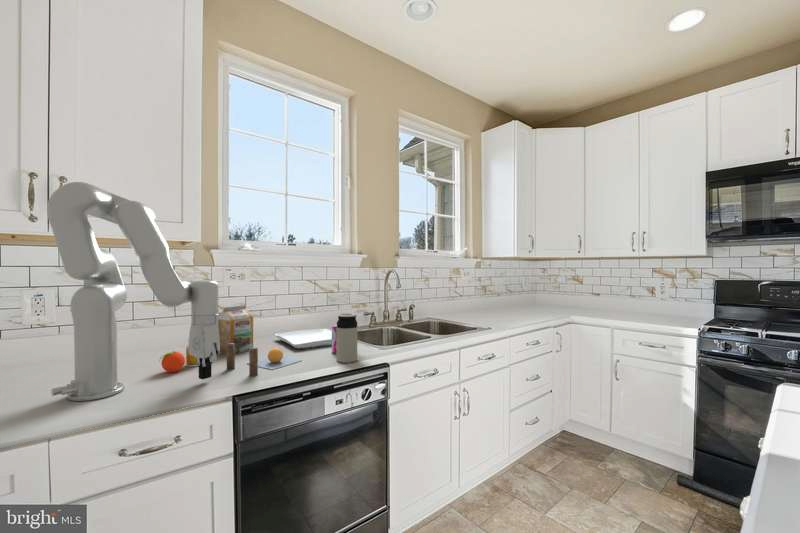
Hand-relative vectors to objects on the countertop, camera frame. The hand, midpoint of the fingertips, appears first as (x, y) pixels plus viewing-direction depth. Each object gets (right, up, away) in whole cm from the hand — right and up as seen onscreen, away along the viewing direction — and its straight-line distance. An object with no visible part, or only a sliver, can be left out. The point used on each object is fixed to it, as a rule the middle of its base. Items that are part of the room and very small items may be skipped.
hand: (205, 377), depth 115 cm
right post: (+12, -2, +8) cm, 15 cm away
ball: (+15, +1, +23) cm, 27 cm away
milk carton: (-9, -1, +41) cm, 42 cm away
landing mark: (+14, -1, +23) cm, 27 cm away
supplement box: (+37, -1, +39) cm, 53 cm away
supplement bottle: (-14, -1, +19) cm, 24 cm away
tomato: (-17, -1, +10) cm, 20 cm away
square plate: (+19, -1, +58) cm, 62 cm away
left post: (+1, -1, +14) cm, 15 cm away
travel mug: (+41, -2, +27) cm, 49 cm away
